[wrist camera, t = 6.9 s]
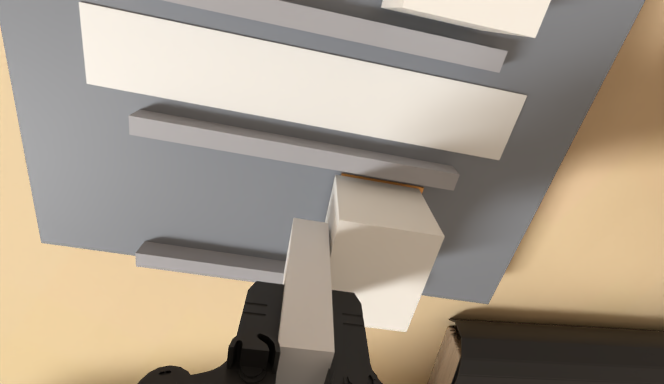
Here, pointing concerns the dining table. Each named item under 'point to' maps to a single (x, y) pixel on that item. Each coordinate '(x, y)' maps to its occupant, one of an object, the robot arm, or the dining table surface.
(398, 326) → the inner tab
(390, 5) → the outer tab
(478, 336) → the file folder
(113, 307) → the dining table surface
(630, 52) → the dining table surface
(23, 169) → the dining table surface
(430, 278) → the switch panel
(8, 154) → the dining table surface
